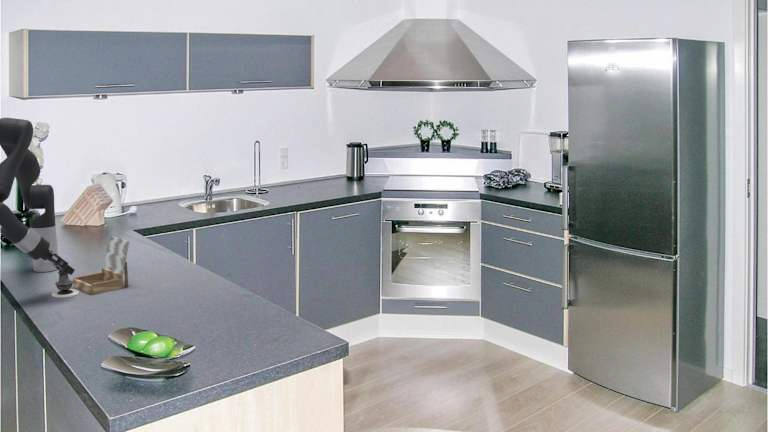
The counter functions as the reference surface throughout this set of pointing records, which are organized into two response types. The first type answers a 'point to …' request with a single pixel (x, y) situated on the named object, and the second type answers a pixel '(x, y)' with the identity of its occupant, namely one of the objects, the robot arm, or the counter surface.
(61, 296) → the saucer
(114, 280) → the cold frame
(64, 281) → the grey tall domed piece
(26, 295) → the counter surface
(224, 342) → the counter surface
